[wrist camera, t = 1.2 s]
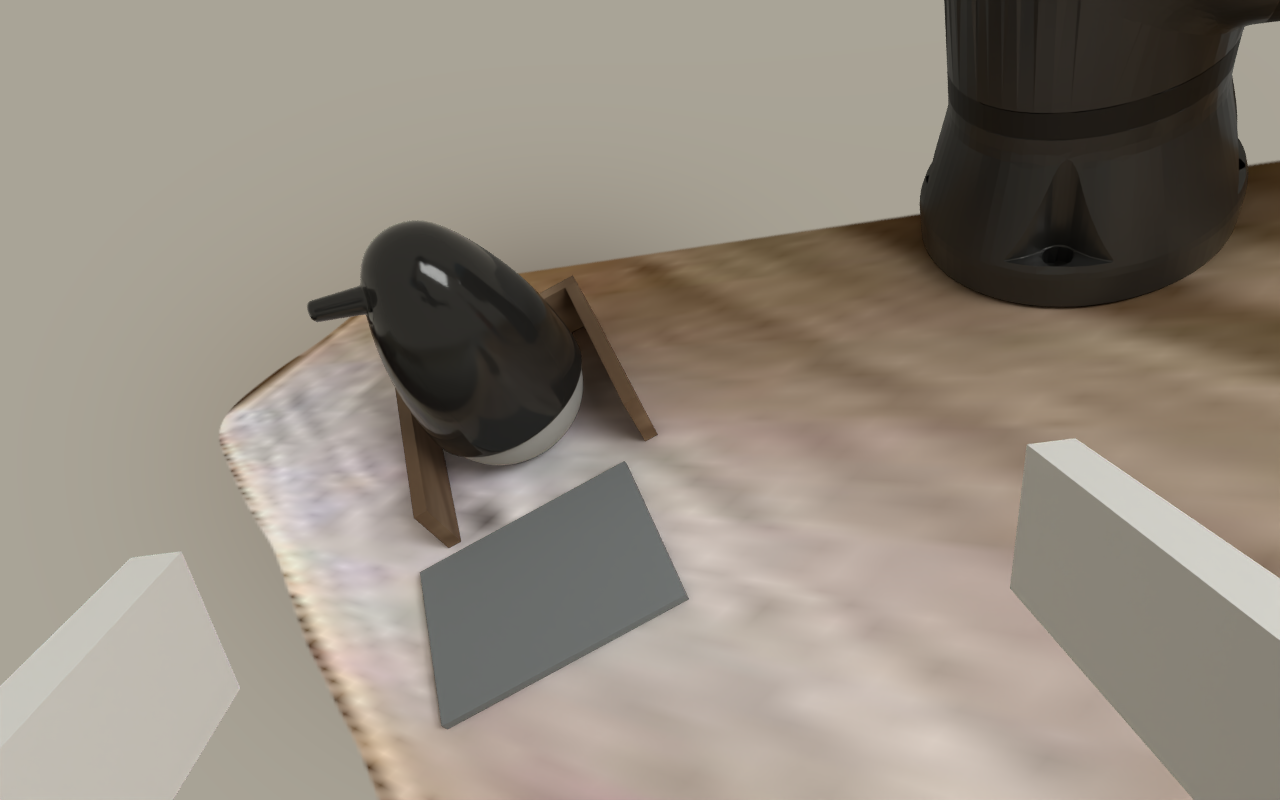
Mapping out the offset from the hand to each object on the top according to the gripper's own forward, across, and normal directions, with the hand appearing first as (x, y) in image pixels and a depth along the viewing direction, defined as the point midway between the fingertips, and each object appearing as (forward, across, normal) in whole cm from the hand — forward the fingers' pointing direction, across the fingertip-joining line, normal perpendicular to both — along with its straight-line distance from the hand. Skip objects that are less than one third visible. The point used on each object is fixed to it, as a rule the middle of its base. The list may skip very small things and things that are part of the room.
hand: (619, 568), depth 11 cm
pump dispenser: (+32, -6, -11) cm, 34 cm away
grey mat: (+21, -5, -16) cm, 27 cm away
